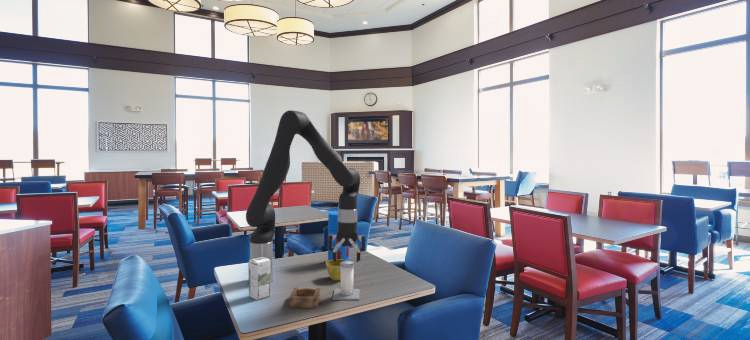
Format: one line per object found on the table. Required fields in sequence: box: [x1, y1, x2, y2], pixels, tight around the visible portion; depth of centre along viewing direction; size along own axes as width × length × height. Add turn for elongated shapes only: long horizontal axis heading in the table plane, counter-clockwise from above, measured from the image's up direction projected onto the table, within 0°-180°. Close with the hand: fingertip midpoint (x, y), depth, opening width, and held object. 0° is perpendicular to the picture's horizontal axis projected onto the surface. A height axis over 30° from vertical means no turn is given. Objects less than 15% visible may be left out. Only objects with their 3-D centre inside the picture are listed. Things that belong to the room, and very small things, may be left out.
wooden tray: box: [288, 287, 321, 309], centre depth 139 cm, size 10×10×4 cm
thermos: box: [327, 211, 351, 261], centre depth 189 cm, size 11×11×25 cm
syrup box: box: [248, 257, 271, 301], centre depth 144 cm, size 6×6×14 cm
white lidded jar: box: [339, 260, 355, 296], centre depth 147 cm, size 5×5×12 cm
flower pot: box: [325, 259, 347, 281], centre depth 166 cm, size 10×10×7 cm
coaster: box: [332, 288, 361, 301], centre depth 147 cm, size 10×10×1 cm
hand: (346, 261), depth 146 cm, fingers open, 8 cm apart
